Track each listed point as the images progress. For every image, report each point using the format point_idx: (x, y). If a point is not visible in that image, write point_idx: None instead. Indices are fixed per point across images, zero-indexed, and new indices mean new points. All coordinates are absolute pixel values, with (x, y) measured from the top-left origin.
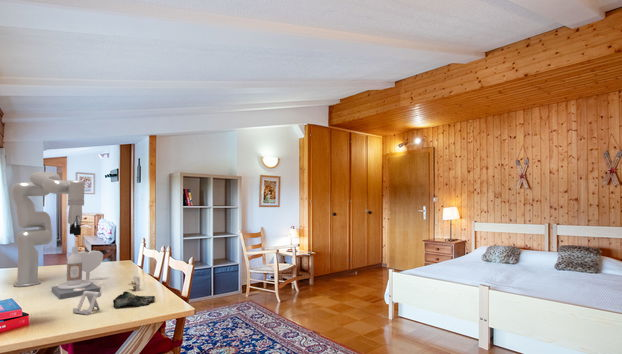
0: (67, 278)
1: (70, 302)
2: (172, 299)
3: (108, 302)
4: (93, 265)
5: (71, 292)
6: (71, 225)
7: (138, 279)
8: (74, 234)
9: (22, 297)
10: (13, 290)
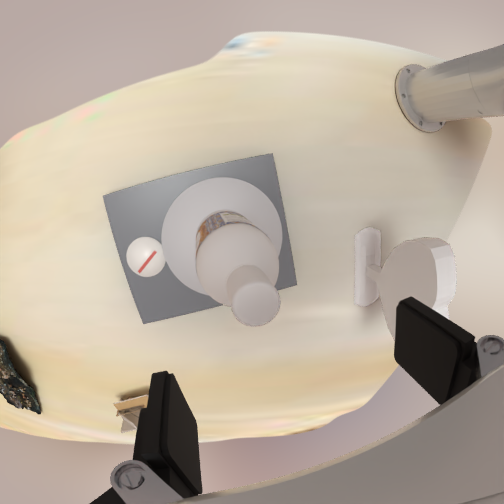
0: (211, 216)
1: (52, 233)
2: (28, 428)
3: (22, 328)
4: (391, 308)
5: (113, 233)
6: (475, 370)
7: (125, 426)
8: (155, 383)
9: (221, 72)
10: (357, 55)
